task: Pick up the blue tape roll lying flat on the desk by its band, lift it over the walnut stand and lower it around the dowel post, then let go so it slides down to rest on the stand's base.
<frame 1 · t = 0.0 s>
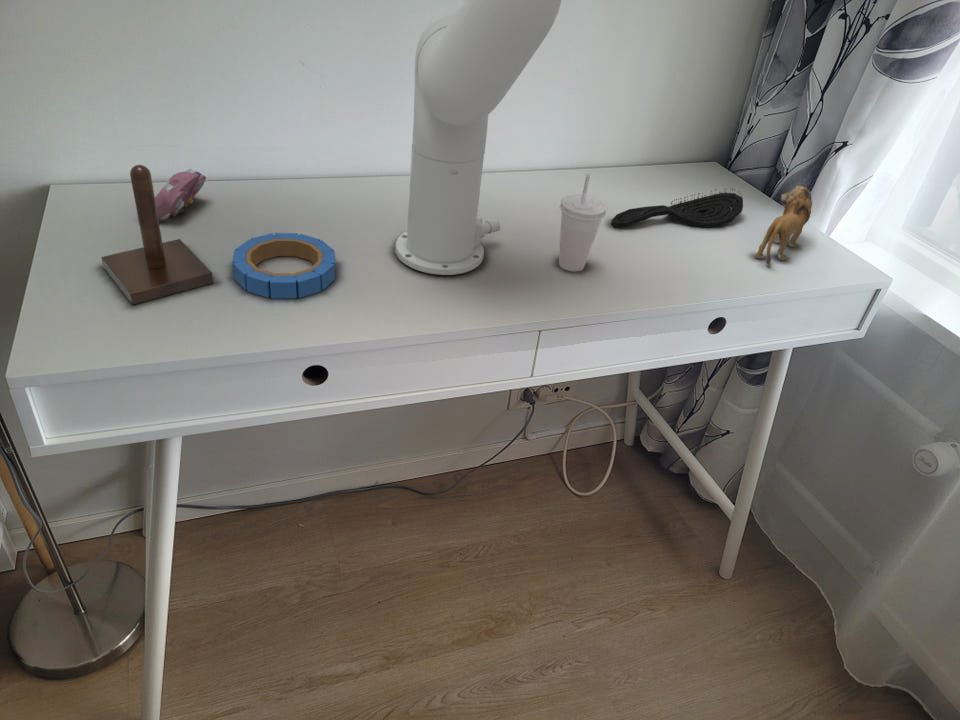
hairbrush: (675, 220, 125), on the table
stand: (158, 275, 95), on the table
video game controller: (177, 211, 109), on the table
lion figurine: (775, 249, 120), on the table
smoothie: (571, 266, 108), on the table
tape roll: (285, 272, 98), on the table
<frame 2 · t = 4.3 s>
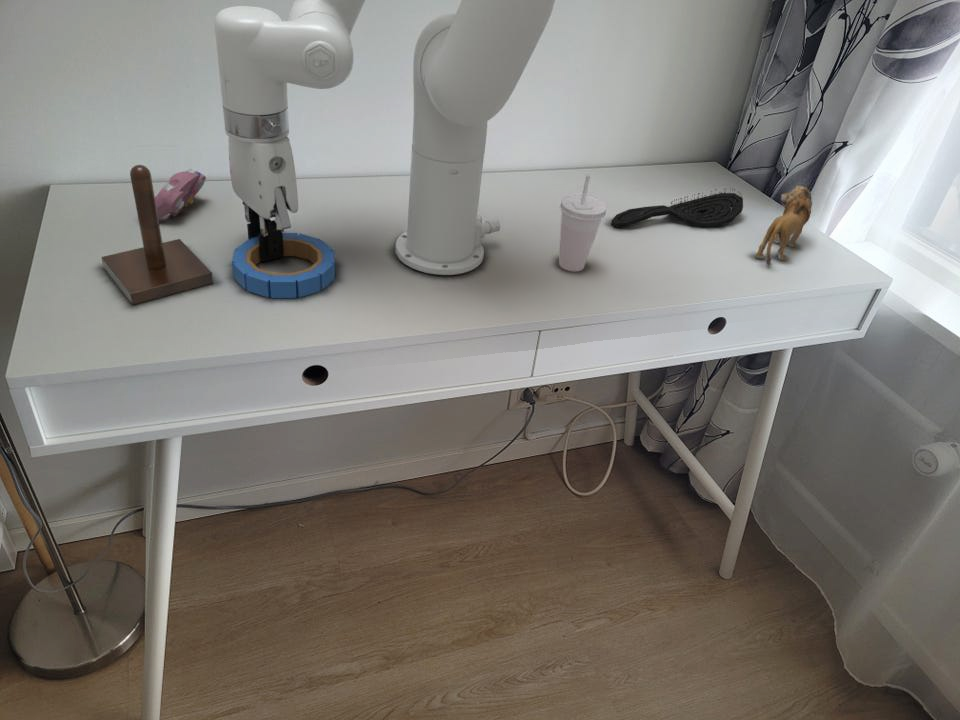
hand: (266, 252, 101), 0 cm above the table, tool pointing down, fingers closed on tape roll, 2 cm apart
tape roll: (285, 271, 98), on the table, touching gripper
everything else where it was.
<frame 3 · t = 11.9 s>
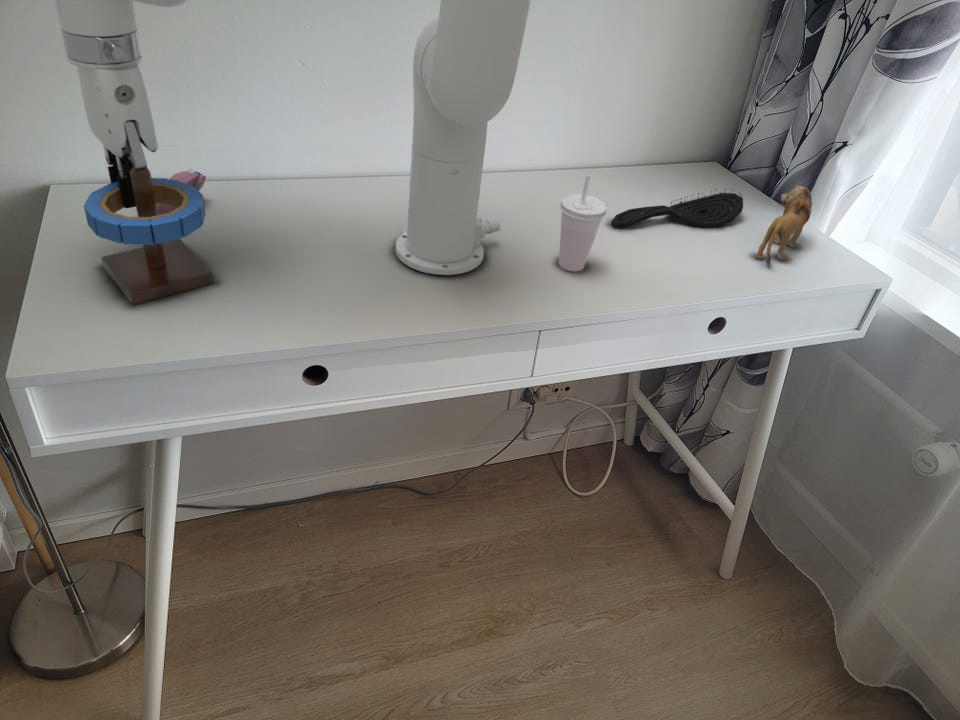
hand: (132, 199, 93), 8 cm above the table, tool pointing down, fingers closed on tape roll
tape roll: (148, 218, 90), point 8 cm above the table, touching gripper
everything else where it was.
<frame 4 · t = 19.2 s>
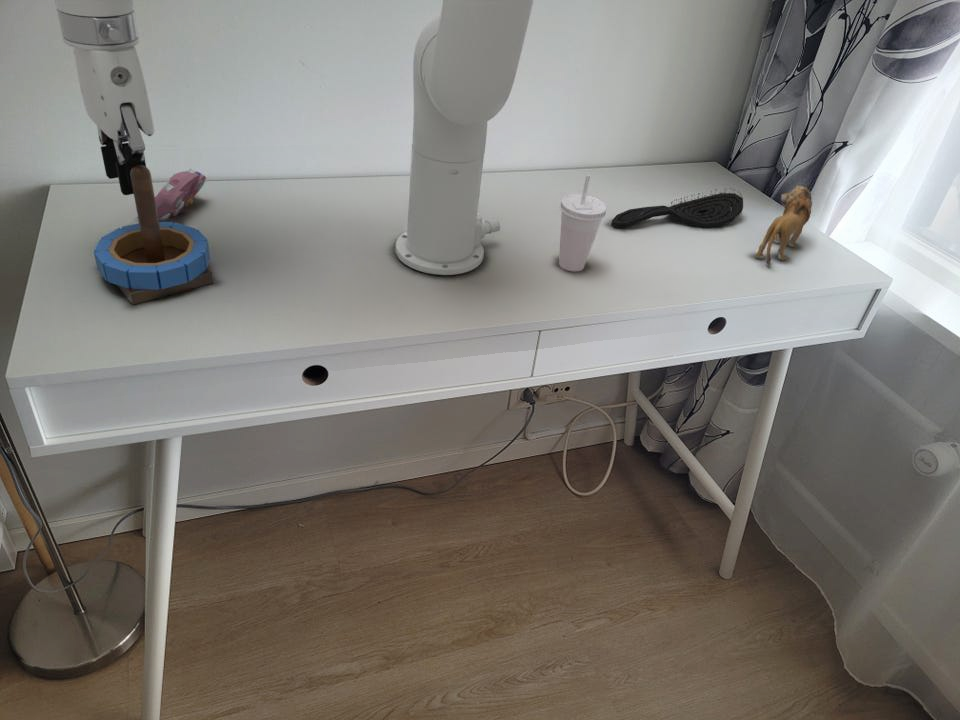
hand: (128, 182, 92), 10 cm above the table, tool pointing down, fingers open, 4 cm apart
tape roll: (155, 262, 94), point 2 cm above the table, touching stand
everything else where it was.
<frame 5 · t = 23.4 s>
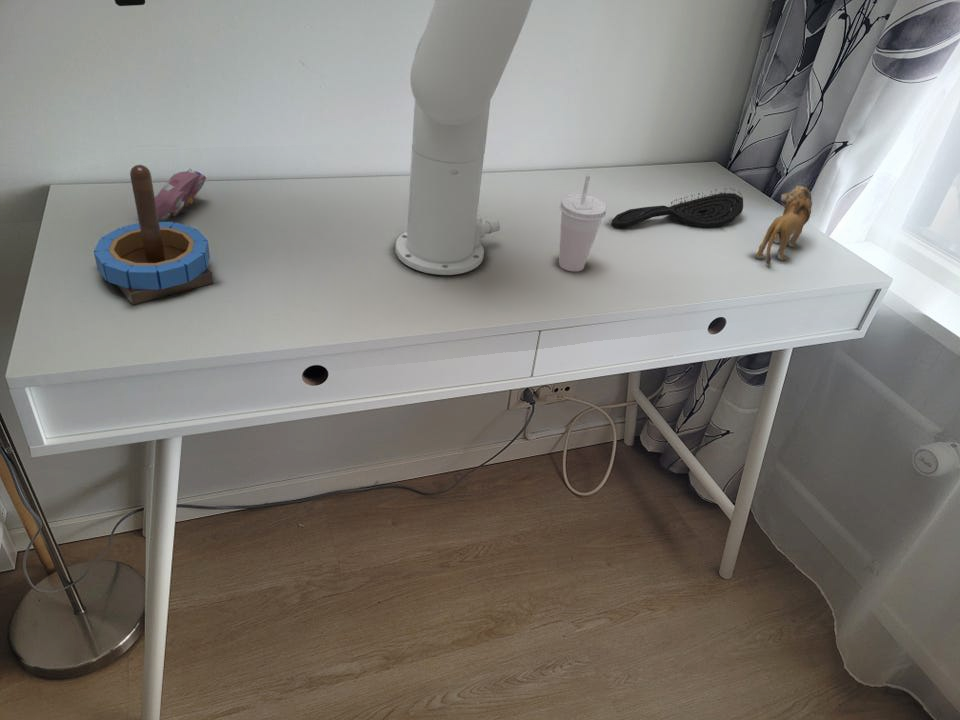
nothing on the table moved.
at the end: tape roll 0.6 cm from the stand (horizontally); tape roll point 1.6 cm above the table; the gripper is holding nothing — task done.
